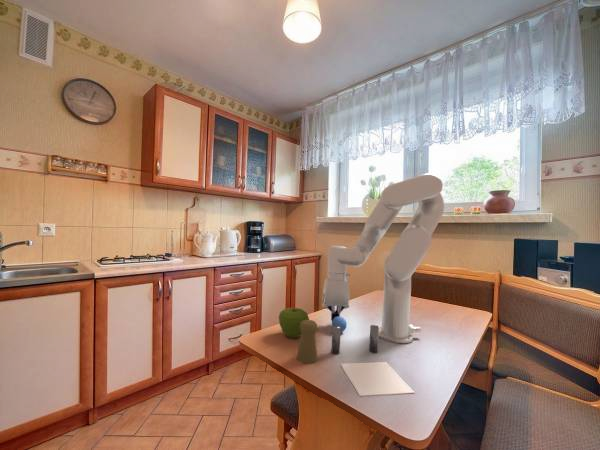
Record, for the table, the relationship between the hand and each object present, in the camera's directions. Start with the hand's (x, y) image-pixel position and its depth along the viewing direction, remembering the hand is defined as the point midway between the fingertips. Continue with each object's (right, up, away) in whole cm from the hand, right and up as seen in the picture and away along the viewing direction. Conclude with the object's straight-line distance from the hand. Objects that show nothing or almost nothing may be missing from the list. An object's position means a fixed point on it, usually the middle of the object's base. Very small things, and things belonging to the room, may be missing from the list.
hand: (335, 322), depth 104 cm
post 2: (+10, -2, -21) cm, 23 cm away
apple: (-17, -1, -12) cm, 20 cm away
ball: (+1, +2, -6) cm, 6 cm away
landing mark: (+6, -1, -36) cm, 36 cm away
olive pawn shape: (-12, -1, -27) cm, 30 cm away
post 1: (-3, -1, -23) cm, 23 cm away
